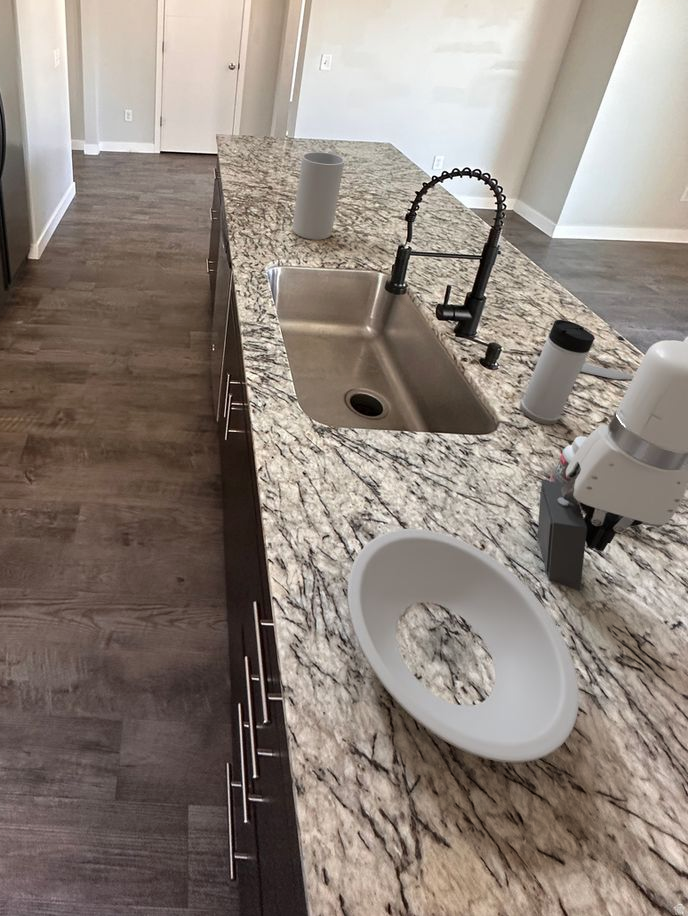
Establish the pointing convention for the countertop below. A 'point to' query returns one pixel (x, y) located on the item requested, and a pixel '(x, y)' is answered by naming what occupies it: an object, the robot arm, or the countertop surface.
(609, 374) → the chef's knife
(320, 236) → the cylinder vase
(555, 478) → the pill bottle
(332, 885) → the countertop surface
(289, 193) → the countertop surface
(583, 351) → the travel mug
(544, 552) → the dark gray rectangular block
